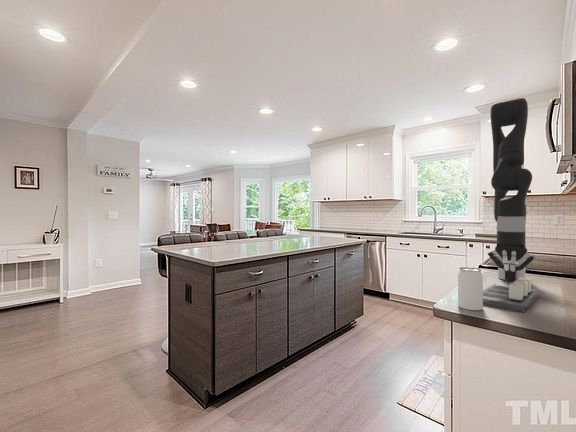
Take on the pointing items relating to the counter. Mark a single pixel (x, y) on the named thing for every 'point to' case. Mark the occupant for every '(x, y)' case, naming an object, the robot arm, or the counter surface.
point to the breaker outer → (515, 291)
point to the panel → (500, 298)
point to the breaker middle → (525, 286)
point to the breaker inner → (528, 283)
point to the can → (470, 289)
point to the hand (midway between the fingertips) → (510, 281)
